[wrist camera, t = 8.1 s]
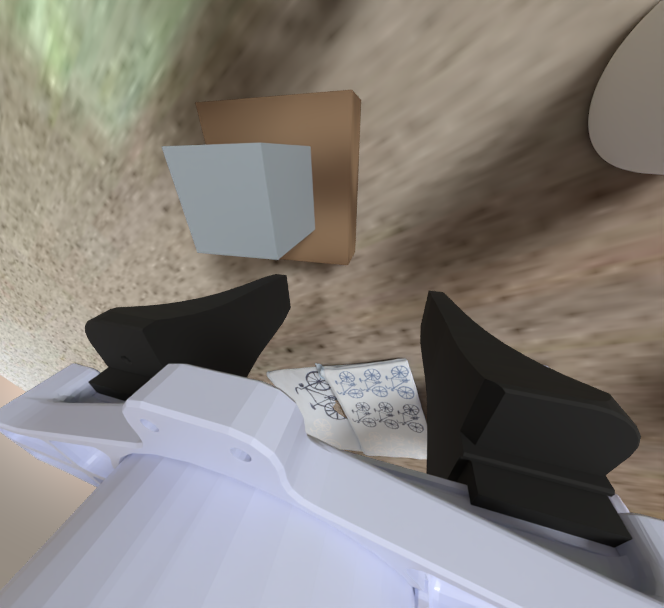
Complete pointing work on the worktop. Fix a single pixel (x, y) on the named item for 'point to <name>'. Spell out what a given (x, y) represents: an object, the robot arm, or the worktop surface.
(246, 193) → the slate cube
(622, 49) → the pill bottle
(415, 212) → the worktop surface
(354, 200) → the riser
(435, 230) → the worktop surface
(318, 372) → the white bicycle print cloth
